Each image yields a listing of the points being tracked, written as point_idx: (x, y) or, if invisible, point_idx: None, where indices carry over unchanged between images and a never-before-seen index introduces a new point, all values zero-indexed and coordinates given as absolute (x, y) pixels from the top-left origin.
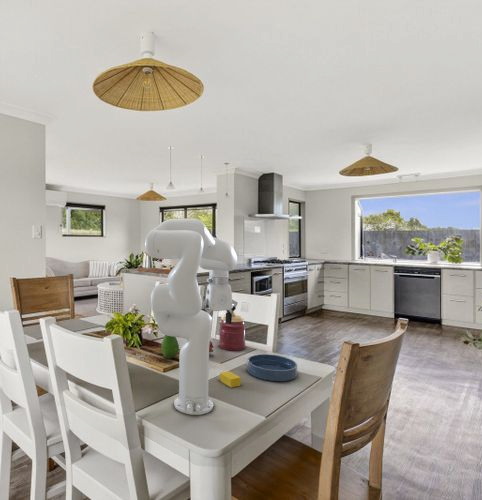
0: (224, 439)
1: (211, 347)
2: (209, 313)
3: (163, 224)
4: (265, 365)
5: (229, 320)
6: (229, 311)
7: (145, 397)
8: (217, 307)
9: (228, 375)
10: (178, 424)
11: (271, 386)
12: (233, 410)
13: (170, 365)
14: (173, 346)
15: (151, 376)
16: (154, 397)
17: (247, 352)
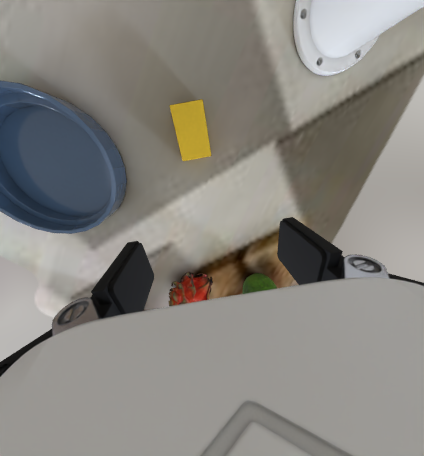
0: None
1: (173, 291)
2: (351, 273)
3: None
4: (69, 210)
5: (134, 256)
6: (99, 318)
7: (392, 109)
8: (353, 331)
9: (197, 130)
10: None
11: (88, 76)
12: None
13: (267, 249)
14: (263, 286)
15: (323, 208)
16: (378, 103)
17: (94, 285)
